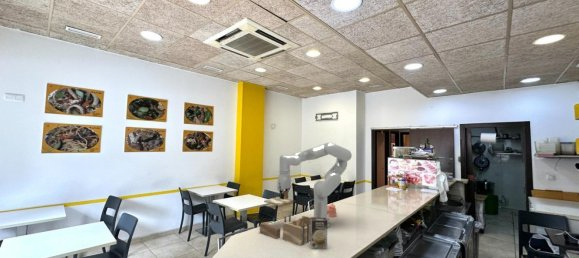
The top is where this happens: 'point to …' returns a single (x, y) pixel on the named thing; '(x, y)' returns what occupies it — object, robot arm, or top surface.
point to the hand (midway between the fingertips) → (284, 198)
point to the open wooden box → (297, 230)
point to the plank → (270, 230)
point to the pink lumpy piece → (331, 210)
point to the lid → (279, 200)
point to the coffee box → (318, 233)
